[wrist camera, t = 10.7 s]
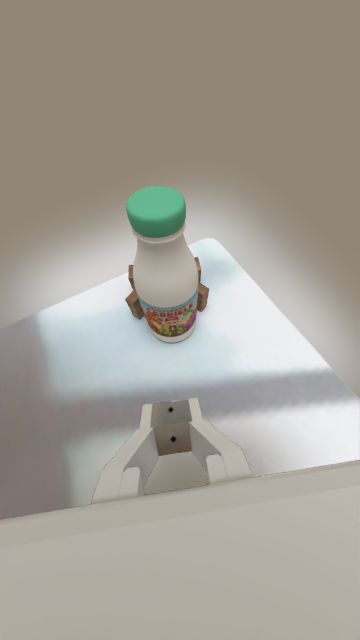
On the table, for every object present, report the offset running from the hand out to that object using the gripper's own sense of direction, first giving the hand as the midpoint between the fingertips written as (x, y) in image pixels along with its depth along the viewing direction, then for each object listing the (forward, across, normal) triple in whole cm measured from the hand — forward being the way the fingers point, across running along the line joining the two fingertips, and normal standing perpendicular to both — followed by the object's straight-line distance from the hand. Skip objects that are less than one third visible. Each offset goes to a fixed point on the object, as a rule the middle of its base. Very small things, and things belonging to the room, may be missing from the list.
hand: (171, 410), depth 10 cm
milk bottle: (+22, -1, +2) cm, 22 cm away
